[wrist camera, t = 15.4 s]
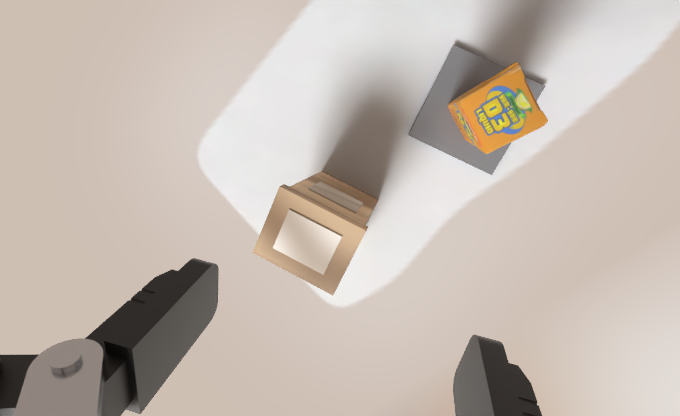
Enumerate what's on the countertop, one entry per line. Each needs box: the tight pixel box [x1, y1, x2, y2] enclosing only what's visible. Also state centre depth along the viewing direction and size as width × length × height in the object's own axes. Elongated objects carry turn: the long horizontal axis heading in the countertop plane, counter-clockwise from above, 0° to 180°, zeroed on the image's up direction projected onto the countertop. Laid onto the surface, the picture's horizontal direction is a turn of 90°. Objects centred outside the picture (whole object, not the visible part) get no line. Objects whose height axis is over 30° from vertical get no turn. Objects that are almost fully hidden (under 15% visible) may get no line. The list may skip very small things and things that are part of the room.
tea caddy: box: [253, 171, 378, 295], centre depth 26 cm, size 5×6×9 cm
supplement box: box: [448, 62, 548, 154], centre depth 21 cm, size 3×3×10 cm
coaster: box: [409, 45, 545, 175], centre depth 26 cm, size 7×7×1 cm
